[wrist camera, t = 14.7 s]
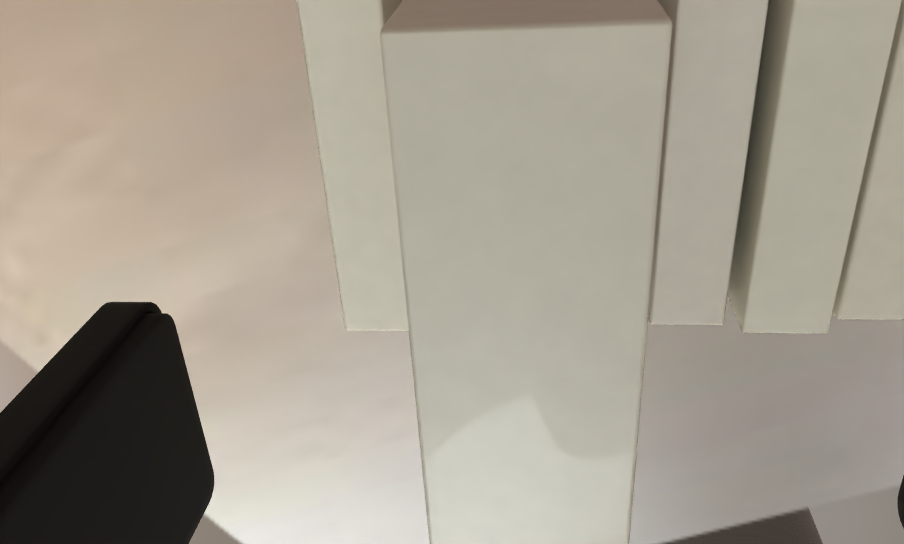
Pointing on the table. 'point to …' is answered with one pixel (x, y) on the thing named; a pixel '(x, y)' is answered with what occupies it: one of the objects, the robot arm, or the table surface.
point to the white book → (527, 255)
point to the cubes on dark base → (682, 163)
